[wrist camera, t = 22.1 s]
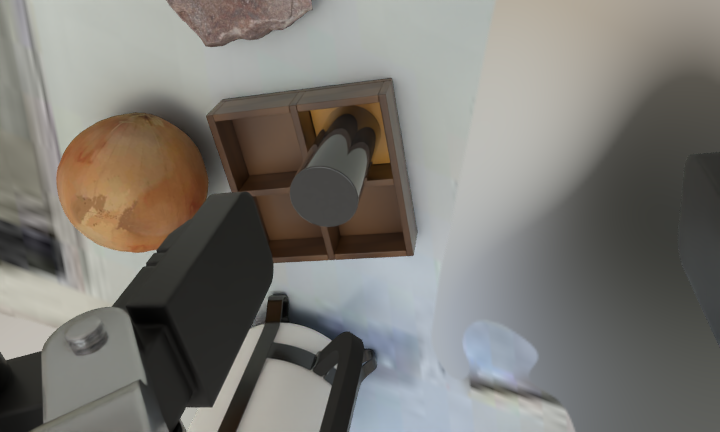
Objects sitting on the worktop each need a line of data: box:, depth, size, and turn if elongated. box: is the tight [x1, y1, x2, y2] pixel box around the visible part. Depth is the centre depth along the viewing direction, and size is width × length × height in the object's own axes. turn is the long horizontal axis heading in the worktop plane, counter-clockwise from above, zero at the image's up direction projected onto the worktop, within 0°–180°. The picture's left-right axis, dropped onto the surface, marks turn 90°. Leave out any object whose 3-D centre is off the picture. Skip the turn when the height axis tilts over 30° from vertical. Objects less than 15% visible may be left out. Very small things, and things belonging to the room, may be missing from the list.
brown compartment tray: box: [206, 78, 417, 263], centre depth 43 cm, size 12×12×3 cm
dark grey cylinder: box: [290, 105, 381, 227], centre depth 37 cm, size 4×4×9 cm
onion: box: [57, 112, 209, 253], centre depth 41 cm, size 10×10×10 cm
